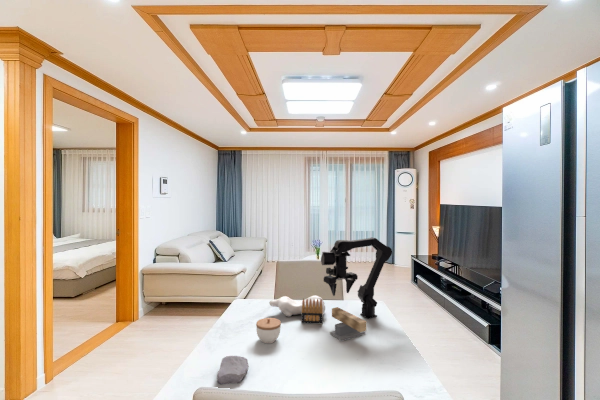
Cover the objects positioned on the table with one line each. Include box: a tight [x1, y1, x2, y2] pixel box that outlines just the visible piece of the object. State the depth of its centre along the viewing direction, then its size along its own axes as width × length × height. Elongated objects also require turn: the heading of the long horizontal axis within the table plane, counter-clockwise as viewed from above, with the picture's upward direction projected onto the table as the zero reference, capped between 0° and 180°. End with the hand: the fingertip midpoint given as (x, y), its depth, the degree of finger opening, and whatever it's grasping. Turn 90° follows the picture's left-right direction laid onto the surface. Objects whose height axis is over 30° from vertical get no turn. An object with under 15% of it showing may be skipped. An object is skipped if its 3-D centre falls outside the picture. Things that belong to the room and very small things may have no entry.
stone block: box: [216, 355, 250, 385], centre depth 104 cm, size 12×5×10 cm
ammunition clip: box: [300, 298, 324, 325], centre depth 148 cm, size 11×2×12 cm, turn 87°
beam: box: [331, 306, 367, 332], centre depth 135 cm, size 20×4×4 cm, turn 31°
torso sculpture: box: [269, 294, 326, 317], centre depth 159 cm, size 16×11×30 cm
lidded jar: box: [255, 317, 282, 344], centre depth 129 cm, size 11×11×9 cm
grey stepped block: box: [329, 322, 366, 342], centre depth 135 cm, size 14×8×5 cm, turn 121°
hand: (340, 294), depth 154 cm, fingers open, 9 cm apart
